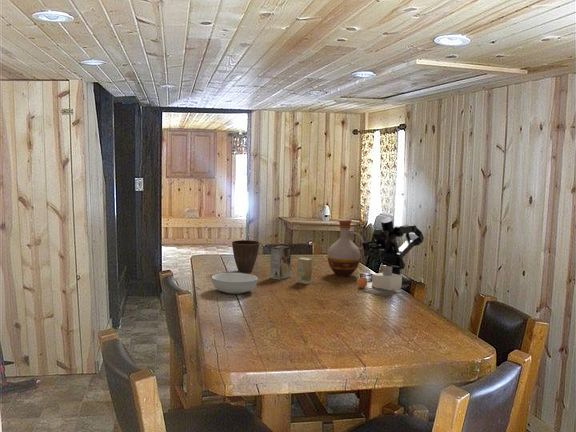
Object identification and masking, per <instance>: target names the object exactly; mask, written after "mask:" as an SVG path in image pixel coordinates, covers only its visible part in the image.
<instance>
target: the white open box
mask: <svg viewBox="0 0 576 432" xmlns="http://www.w3.org/2000/svg"><path fill="white" fill-rule="evenodd" d="M402 278H403V275H402V274H401V275H398V274H392V267H390V266H386V265H385V266H384V265H383V267H382V272H378V273H374V274H373V273H372V279H371V281H372V283H371V287H372V288H374V289H377V288H382V289H386V290H391V291H395V290H397V289H401V288H402V285H403V284H402V283H403V279H402Z"/></svg>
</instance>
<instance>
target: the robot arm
mask: <svg viewBox="0 0 576 432" xmlns="http://www.w3.org/2000/svg"><path fill="white" fill-rule="evenodd" d="M380 226H381V229H375V230H374V231H373V233H372V237H374V239H375V240H374V243H373V242H372V241H371V240H368V241H367V240H364V242H363V243H362V242H361V246H362V245H363V250H364V251H363V257H364V258H365V257H368V256H370V255H372V254H373V253H374V250H378V252H381V253H380V255H379V257H380V258H383V257H384V263H385V266H390V267H392V274H398V275H402V274H401V273H402V272H401V271H402V270H404V269H405V267H406V263H405V261H404V258H405V256H406V255H408V253H409V252H410V251H411V250H412V249H413V248H414V247H416V246H420V245H421V244H422V243H423V242H424V238H425V237H424V235H423V233H422V231H421V230H420V229H419V228H418V227H417V225H415V224H405V225H394V224H393V218H392V216H388V217H385V218H381V220H380ZM404 235H405V237H406V240H405V242H403V243H402V245H400V246H398V243H397V238H402V237H403V236H404Z"/></svg>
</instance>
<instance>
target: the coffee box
mask: <svg viewBox="0 0 576 432" xmlns="http://www.w3.org/2000/svg"><path fill="white" fill-rule="evenodd" d="M291 251H292V250H291V246H288V245H287V246H286V245H278V246H272V247H270V272H269V273H270V277H269V278H271V279H274V280H279V281H280V280H284V279H287V278H290V277H291V256H292V255H291Z"/></svg>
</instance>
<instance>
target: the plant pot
mask: <svg viewBox="0 0 576 432" xmlns="http://www.w3.org/2000/svg"><path fill="white" fill-rule="evenodd" d="M231 245H232V246H231V247H232V253H233V258H234V262H235V266H236V269H237V272H238V273H245V274H249V273H251V272H253V270H254V267H255V264H256V262H257V257H258V254H259V250H260V242H259V241H257V240H247V239H246V240H245V239H240V240H239V239H237V240H233V241H231Z"/></svg>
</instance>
